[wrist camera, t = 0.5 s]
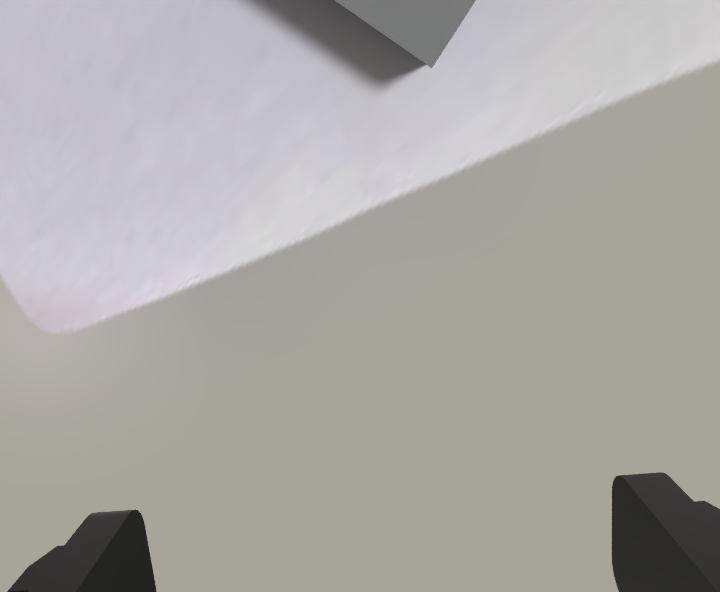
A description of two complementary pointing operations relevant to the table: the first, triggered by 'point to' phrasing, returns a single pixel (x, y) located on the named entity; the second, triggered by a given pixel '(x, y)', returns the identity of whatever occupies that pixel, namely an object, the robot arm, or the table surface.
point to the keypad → (413, 22)
